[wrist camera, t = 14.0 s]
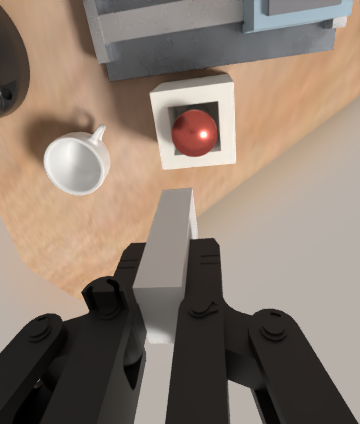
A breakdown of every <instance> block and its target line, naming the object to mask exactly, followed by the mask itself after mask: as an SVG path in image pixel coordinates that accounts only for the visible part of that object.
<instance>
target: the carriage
mask: <svg viewBox="0 0 360 424" xmlns="http://www.w3.org/2000/svg"><path fill="white" fill-rule="evenodd" d="M352 4H353V0H244V24H243V25H242V30H243V34H246V33H252V32H258V31H265V30H271V29H278V28H284V27H290V26H297V25H303V24H310V23H316V22H321V21H323V20H328V19H333V18H338V17H343V16H348V15H351V10H352Z"/></svg>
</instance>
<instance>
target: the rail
mask: <svg viewBox="0 0 360 424" xmlns="http://www.w3.org/2000/svg"><path fill="white" fill-rule="evenodd" d="M82 1H83V5H84V9H85V13H86V17H87V21H88V25H89V29H90V33H91V37H92V41H93V45H94V49H95V53H96V57H97V61H98V64H101V63H105V64H106V68H107V72H108V76H109V80H110V81H116V80H123V79H130V78H138V77H145V76H152V75H159V74H166V73H173V72H180V71H187V70H194V69H201V68H208V67H215V66H222V65H229V64H236V63H244V62H251V61H258V60H265V59H272V58H279V57H286V56H293V55H300V54H307V53H314V52H321V51H328V50H333V47H334V39H335V31H336V28H338V27H344V26H346V20H347V16H343V17H338V18H333V19H328V20H323V21H321V22H316V23H310V24H303V25H297V26H290V27H284V28H278V29H271V30H265V31H258V32H252V33H246V34H243V30H242V25H243V24H244V0H82Z"/></svg>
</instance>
